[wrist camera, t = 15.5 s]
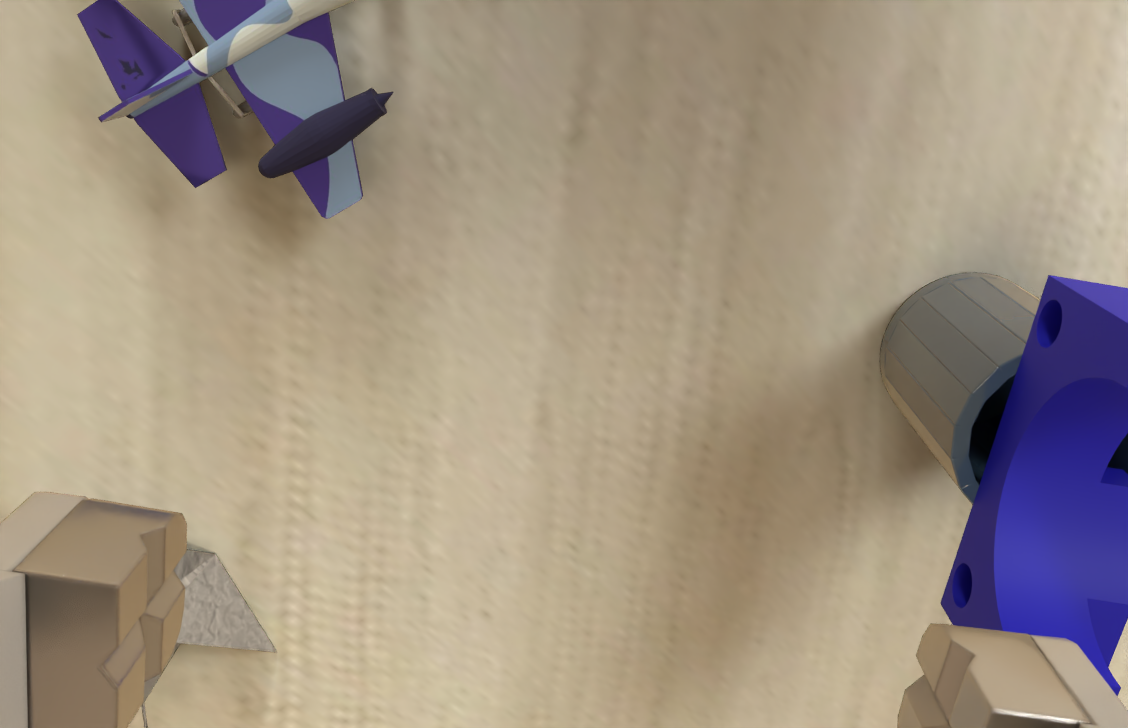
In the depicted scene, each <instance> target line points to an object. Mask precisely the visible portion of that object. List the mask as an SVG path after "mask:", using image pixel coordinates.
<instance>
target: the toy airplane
mask: <svg viewBox="0 0 1128 728" xmlns="http://www.w3.org/2000/svg"><path fill="white" fill-rule="evenodd" d="M179 1H180V2H181V4H182V5H183V7H184V9H182V10H173V11H172V13H173V15H174V16H173V23H174V24H175V25H176V26H179V28H180V30H181V32H182V35H183V37H184V39H185V41H186V43H187V45H188V47H189V50H190V52H191V54H192V56H193V57H191V58H190V59H188V60H187V61H185V60H184V59H183V58H182V57H181V56H180V55H179V54H177V53H176V52H175V51H174V50H173V49H172V48H171V47H169V46H168V45H167V44H166V43H165V42H164V41H163V40H162V39H160V38H159V37H158V36H157V35H156V34H155V33H154V32H152V31H151V30H150V29H149V28H148V27H147V26H146V25H144V24H143V23H142V22H141V21H140V20H139V19H138V18H136V17H135V16H134V15H133V14H132V13H131V12H130V11H129V10H127V9H126V8H125V7H124V6H123V5H122V4H121V3H119V2H118V1H117V0H97V1H96V2H95V3H93V4H92V5H90V6H89V7H87V8H86V9H85V10H83V11H82V12H80V13H79V14H77V15H78V17H79V19H80V21H81V23H82V25H83V27H84V29H85V31H86V33H87V35H88V37H89V39H90V41H91V43H92V45H93V47H94V49H95V51H96V53H97V55H98V57H99V59H100V61H101V63H102V65H103V67H104V69H105V71H106V73H107V75H108V77H109V79H110V81H111V83H112V85H113V87H114V89H115V91H116V93H117V95H118V97H119V98H120V99H121V101H122V103H120V104H119V105H117V106H116V107H114V108H112V109H111V110H109V111H108V112H106V113H105V114H103V115H101V116H100V117H99V120H100V121H101V122H105V121H109V120H112V119H116V118H120V117H124V116H126V117H128V118H134V120H135V121H136V123H137V124H138V125H139V126H140V127H141V128H142V130H143V131H144V132H145V133H146V134H147V135H148V136H149V137H150V138H151V140H152V141H153V142H154V143H155V144H156V145H157V146H158V147H159V148H160V149H161V151H162V152H163V153H164V154H165V155H166V156H167V157H168V158H169V159H170V161H171V162H172V163H173V164H174V165H175V166H176V167H177V168H178V169H179V170H180V172H181V173H182V174H183V175H184V176H185V177H186V178H187V179H188V180H189V181H190V183H191V184H192V185H193V186H194V187H195V188H196V187H198V186H200V185H202V184H203V183H205V182H207V181H208V180H210V179H212V178H214V177H215V176H217V175H219V174H221V173H222V172H224V171H226V170H227V168H226V165H225V162H224V159H223V156H222V153H221V150H220V146H219V143H218V140H217V137H216V134H215V131H214V128H213V125H212V122H211V118H210V115H209V112H208V109H207V106H206V103H205V100H204V97H203V94H202V91H201V87H200V84H199V82H201V81H203V80H205V79H208V80H209V81H210V82H211V83H212V85H213V86H214V87H215V88H216V89H217V90H218V92H219V93H220V94H221V95H222V96H223V97H224V98H225V100H226V101H227V102H228V103H229V104H230V105H231V107H232V108H233V109H234V110H233V115H234V116H235V117H236V118H242V117H245V116H246V115H248V114H250V113H252V112H253V111H254V113H255V115H256V116H257V118H258V119H259V121H260V122H261V124H262V125H263V127H264V128H265V130H266V131H267V133H268V135H269V136H270V138H271V139H272V141H273V142H274V144H275V146H274V147H273V148H272V149H271V150H269V151H268V152H267V153H266V154H265V155H264V156H263V157H262V158H261V159H260V161H259V165H258V167H259V171H260V173H261V174H262V175H263V176H265V177H267V178H275V177H278V176H281V175H284V174H287V173H289V172H293V173H294V175H295V176H296V178H297V179H298V181H299V182H300V184H301V185H302V187H303V188H304V190H305V192H306V193H307V195H308V196H309V198H310V199H311V201H312V202H313V204H314V205H315V207H316V209H317V210H318V212H319V213H320V215H321V216H322V217H324V218H326V219H328V218H331V217H332V216H334V215H336V214H337V213H339V212H341V211H343V210H344V209H346V208H348V207H349V206H351V205H353V204H354V203H356V202H358V201H360V200H361V199H362V196H363V192H362V187H361V182H360V177H359V171H358V166H357V161H356V155H355V150H354V145H353V139H354V138H355V137H357V136H358V135H359V134H360V133H361V132H363V131H364V130H365V129H366V128H368V127H369V126H370V125H371V124H372V123H374V122H375V121H376V120H377V119H379V118H380V117H381V116H383V115H385V114H386V113H387V110H386V108H385V103H386V102H387V100H388V99H389V98H390V96H391V95H392V94H393V92H388V93H381V94H377V92H376V91H375V90H374V89H372V88H370V89H369V90H367V91H366V92H363V93H361V94H359V95H356V96H354V97H352V98H350V99H347V100H345V97H344V92H343V87H342V81H341V76H340V71H339V66H338V60H337V55H336V50H335V44H334V39H333V34H332V29H331V23H330V18H329V13H328V12H330V11H332V10H334V9H337V8H339V7H341V6H343V5H346V4H348V3H350V2H352V1H355V0H179ZM192 21H193V22H194V24H195V25H196V27H197V29H198V30H199V32H200V33H201V35H202V36H203V38H204V39H205V41H206V42H207V44H208V46H207V47H205V48H204V49H203V50H201V51H200V52H198V53H196V51H195V49H194V47H193V45H192V43H191V41H190V38H189V36H188V34H187V32H186V30H185V28H184V26H185V25H187V24H189V23H191V22H192ZM224 68H226V70H227V71H228V73H229V74H230V76H231V78H232V79H233V81H234V82H235V84H236V85H237V87H238V88H239V90H240V91H241V93H242V94H243V96H244V98H245V99H246V101H245V102H243V103H241V104H240V105H238V106H237V105H236V104H235V103H234V102H233V101H232V99H231V98H230V97H229V96H228V95H227V94H226V92H225V91H224V90H223V89H222V88H221V87H220V85H219V84H218V83H217V82H216V81H215V80H214V78H213V77H212V75H214V74H215V73H217V72H219V71H221V70H222V69H224Z"/></svg>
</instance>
